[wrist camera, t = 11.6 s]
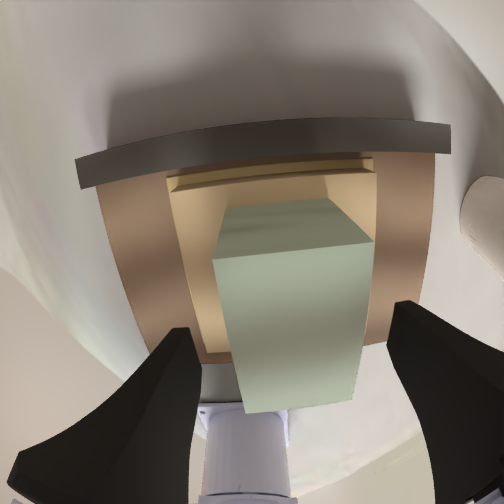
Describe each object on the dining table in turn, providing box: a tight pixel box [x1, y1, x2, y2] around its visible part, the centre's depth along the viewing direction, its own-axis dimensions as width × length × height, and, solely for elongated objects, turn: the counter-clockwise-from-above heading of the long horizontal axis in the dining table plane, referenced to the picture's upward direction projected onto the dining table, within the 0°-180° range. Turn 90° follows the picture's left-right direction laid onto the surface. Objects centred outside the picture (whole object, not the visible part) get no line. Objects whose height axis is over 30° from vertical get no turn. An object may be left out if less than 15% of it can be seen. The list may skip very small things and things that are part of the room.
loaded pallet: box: [170, 168, 377, 413], centre depth 12 cm, size 9×9×6 cm
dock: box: [75, 118, 451, 364], centre depth 15 cm, size 14×18×4 cm
